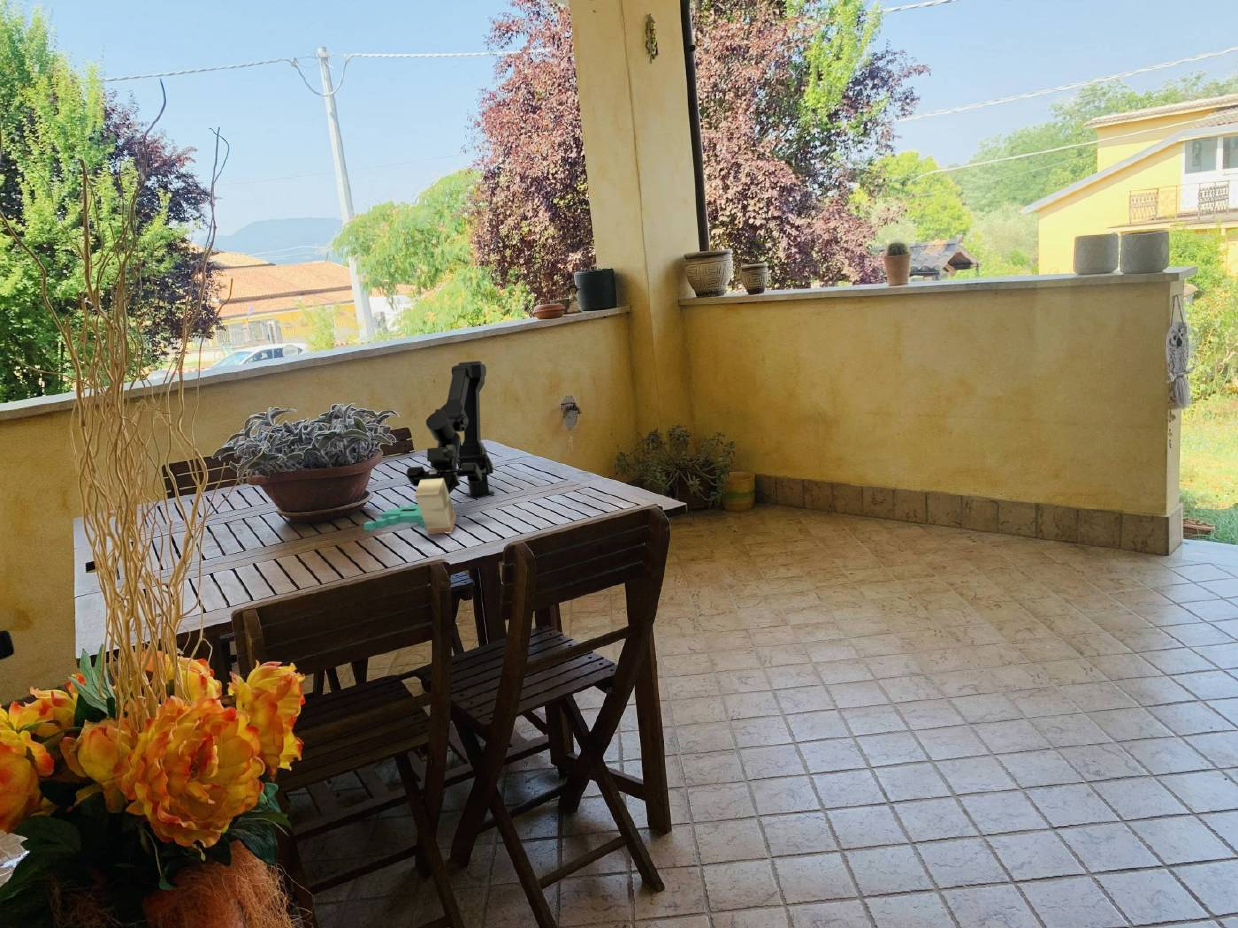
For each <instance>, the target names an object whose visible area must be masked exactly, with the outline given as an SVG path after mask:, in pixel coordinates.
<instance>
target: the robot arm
mask: <svg viewBox="0 0 1238 928" xmlns="http://www.w3.org/2000/svg"><path fill="white" fill-rule="evenodd" d="M486 375H487V367H486V364H483V363H482V361H481V360H476V361H474V360H473V361H465V362H462V361H461V362H459V363H458V364H457V365H454V366H452V367H451V381H450V386H449V390H448V394H447V399H446V403H445V404H443V406H441V407H440V408H439V409H437V408H436V409H435V411H434V412H433V413H431V414H430V415H429V416H428V417H427V418H426V421H425V425H426V427H427V428H428V431H429V432H430V434H431V435H432V437H433V439H434V440H435V441H436V442H437V447H429V448H427V449H426V461H427V462H430V467H431V468H430V469H428V470H427V471H426V470H425V468H424V466H423V465H422V466H420V465H418V466H409V467H408V468H407V469H406V472H405V473H406V474H405V476H406V478H408V480H409V482H410V483H411V485H412V486H413V487H416V488H417V487H418V485H419V483H420V480H426V479H441V478H444V481H445V484H446V487H447V490H448V493H449V495H450V494H451V493H452V492H453V491H454V490H455V489H456V488H457V487H460V485H461V482H460V479H461V478H462V477H466V478H467V483H468V490H469V492H466V493H464V495H465V496H467V497H470V498H473V499H478V498H481V497H485V496H489V495H494V494H495V491H493V490H490V488H489V487H490V486H489V480H488V479H489V478H488V476H490V475H491V474H493V473H494V465H493V462H492V461H491V459H490V457H489V455H488V453H487V452H488V451H487V448H486V447H485V445H484V444H483V442H482V441H481V407H480V405H481V403H480V402H481V401H480V398H481V397H480V392H481V390H482V389H483V387H484V385H485V381H486ZM459 432H460V433H461V432H463V436H464V438H463V442H462V441H461V436H460V434H459ZM457 467H458V468H457Z"/></svg>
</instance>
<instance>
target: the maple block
mask: <svg viewBox="0 0 1238 928" xmlns="http://www.w3.org/2000/svg"><path fill="white" fill-rule="evenodd" d="M416 488H417V489H416V491H415V493H414V498H415V500H416V503H417V505H418V506H419V509H420V512H421V514H422V517H423V520H424V523H425V525H426V528H427V533H428V535H437V534H436V533H445V532H452V533H453V530H454V527H455V523H456V520H457V514H456V510H455V511H454V508H455V507H454V504H453V502H452V499H451V495H450V494H449V493H448V490H447V487H446V484H445V481H444V478H441V479H426V480H420V483H419V485H418V486H417V487H416ZM445 534H446V533H445Z"/></svg>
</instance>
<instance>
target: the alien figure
mask: <svg viewBox="0 0 1238 928" xmlns="http://www.w3.org/2000/svg"><path fill="white" fill-rule="evenodd" d="M453 508H454V511H455V512H456V509H455V507H453ZM400 523H417V525H419V526H421V528H424V529H425V530H427V528H426V525H425V523H424V520H423V517H422V514H421V512H420V509H419V506H418V504H410V505H408V506H400V507H398V508H396V509H394V508H393V509H387V510H385V511H384V512H382V513H381V514H380V518H378V519H377V520H374V521H373V520H372V521H369V520H368V521H366V522H364V523H363V527H364V531H373V530H375V529H377V528H378V529H379V528H386V527H387V526H396V525H398V524H400Z"/></svg>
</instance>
